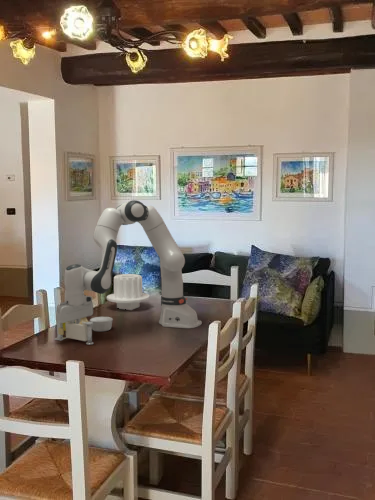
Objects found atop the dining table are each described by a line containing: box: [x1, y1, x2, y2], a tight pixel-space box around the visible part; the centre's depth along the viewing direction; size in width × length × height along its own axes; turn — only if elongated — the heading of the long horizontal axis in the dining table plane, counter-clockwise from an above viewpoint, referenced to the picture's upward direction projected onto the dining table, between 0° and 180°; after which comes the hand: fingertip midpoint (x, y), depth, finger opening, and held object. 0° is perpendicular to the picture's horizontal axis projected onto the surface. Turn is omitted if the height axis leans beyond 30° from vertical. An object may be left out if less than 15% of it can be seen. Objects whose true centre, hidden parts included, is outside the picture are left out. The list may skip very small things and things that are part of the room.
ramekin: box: [89, 316, 114, 332], centre depth 273 cm, size 11×11×5 cm
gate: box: [65, 321, 93, 342], centre depth 251 cm, size 16×3×9 cm, turn 59°
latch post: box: [53, 321, 67, 341], centre depth 255 cm, size 5×4×8 cm
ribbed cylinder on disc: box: [106, 273, 151, 311], centre depth 320 cm, size 25×25×19 cm
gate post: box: [85, 325, 94, 346], centre depth 248 cm, size 3×3×8 cm
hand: (75, 328), depth 256 cm, fingers closed
